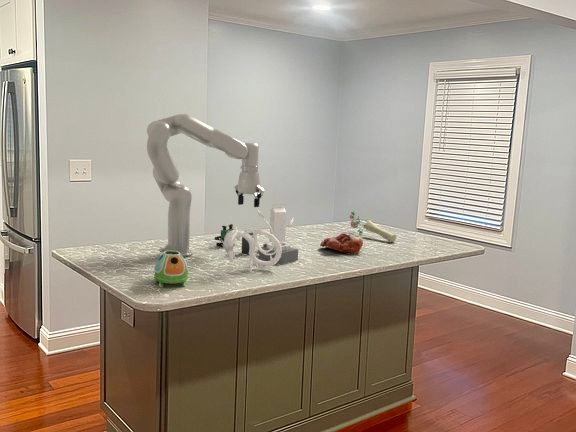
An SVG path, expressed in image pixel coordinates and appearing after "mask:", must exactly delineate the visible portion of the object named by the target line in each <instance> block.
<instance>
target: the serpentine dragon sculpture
mask: <svg viewBox="0 0 576 432" xmlns="http://www.w3.org/2000/svg"><path fill="white" fill-rule="evenodd" d="M256 212H257V213H258V215H259V217H260V219H262V220H265V222H266V224H267V225H268V226H269V229H270V228H271V226H270V222H268V220H267V219H266V218H265V214H264V213H263V212H262V211H260V210H259V209H258V208H256ZM294 218H295V216H294V217H292V219H290V222H289V223H288V226H287V227H288V228H287V230H286V231H285V236H284V238H283V240H282V242H281V244H282V243H283V241H284V239H285V240H286V236H287V234H288V233H289V229H290V228H292V226H293V223H294ZM244 231H245V230H244V229H242V228H241V230H240V229H239V230H238V227H237V225H235V227H234V230H232V231H230V232H229V233H228V232H227V233H228V234H226V236H225V237H226V238H225V237H224V242H223V241H222V242H221V243H223V244H224V246H225V247H224V246H222V247H223V248H224V251H225V252H226V254H225V255H224V256H223V258H224V259H225V258H228V260H229V262H230V263H232V264H233V263H234V259H235V261H237V257H236V254H235V251H234V246H235V242H237V241H241V242H242V237H243V238H245V239H246V240H247V241H248V242H249V247H250V249H249V255H248V256H249V257H250V261H249V273H252V271H253V265H254V264H255V265H256V266H257V269H259V266H260V267H265V268H266V269H267V270H269V268H270V269H271V268H272V266H274V265H275V264H278V263H277V262H278V261H279V259H280V258H281V257H282V256H281V253H282V248H281V244H280V243H279V241H278V240H277V238H276V237H275V236H274V234H273V231H272V228H271V231H272V234H273V235H272V234H270V232H269V231H266V230H263V229H260V228H255V229H254V228H253V229H249V230H246V231H247V232H244ZM248 233H253V238H252V236H251V235H249V234H248ZM258 234H259V235H262V236H265V237H267V238H268V239H271V240H272V241H273V246H272V248H271V249H270V250H268V251H265V250H263V249H261V247H262V246H260V242H259V241H258V240H259V239H258ZM234 239H235V240H234ZM274 244H275V246H276V251H275V252H274V253H272V254H267V253H266V252H269V251H271V250H272V249H273V247H274ZM256 248H257V251H258V252H259V251H260V252H261V253H263V254H265V255H270V259H271V260H270V261H267V260H262V259H259V258H257V257H256V256H258V255H259V254H258V253H256ZM275 253H276V255H275V257H274V258H272V256H271V255H273V254H275ZM259 256H260V255H259ZM268 267H269V268H268Z"/></svg>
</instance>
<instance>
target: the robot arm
mask: <svg viewBox="0 0 576 432" xmlns="http://www.w3.org/2000/svg"><path fill="white" fill-rule="evenodd" d="M146 134H147V137H148V138H147V141H146V152H147V155H148V157H149V159H150V161H151V164H152V166H153V168H152V175H153V178H154V181H155V182H156V184H157V186H158V188H159V190H160V192H161V194H162V195H163V197H164V199H165V200H166V201H167V202H168V204H169V205H168V212H167V244H165V247H161V248H159V249H158V251H159V253H161V254H162V253H163V252H164V251H178V252H180V254H181V255H182V257H183V258H185V257H191V256H193V251H192V250H191V249H190V235H191V234H190V225H191V223H190V222H191V219H190V218H191V217H190V215H191V207H192V206H191V205H192V193H191V191H190V189H189V188H188V187H187V186H186V185H184V184H182V183H181V182H180V180H179V176H180V172H179V169H178V168H177V165H176V164H175V162H174V160H173V158H172V156H171V153H170V152H169V149H168V142H169V140H170V138H171V137H173V136H176V135H180V134H183V135H185V136H186V137H189V138H191V139H192V140H194V141H196V142H198V143H200V144H202V145H204V146H207V147H209V148H213V149H216V150H219V151H221V152H224V154H225V155H226V156H227V157H228V158H231V159H234V160H235V159H236V160H241V165H240V169H241V171H240V172H239V176H238V181H237V184H236V185H234V191H235V193H236V196H237V198H238V199H237V205H239V206H240V205H244V202H245V201H244V200H245V199H244V197H245V196H244V194H245V195H253V197H254V199H253V207H254V208H259V207H260V199H261V198H262V196H263V195H264V192H265V189H264V188H263V187H261V184H260V181H261V180H260V174H259V148H260V147H259V144H258V143H256V142H242V141H240V140H238V139H236V138H234V137H232V136H231V135H229V134H227V133H224V132H222V131H220V130H218V129H216V128H215V127H212V126H211V125H208V124H207V123H205V122H204V121H201V120H199V119H198V118H195V117H194V116H192V115H189V114H186V113H179V114H176V115H172V116H168V117H166V118H165V117H164V118H161V119H157V120H153V121H151V122H150V123H149V124H148V125H147V128H146ZM169 254H170V255H173V254H172V253H169Z"/></svg>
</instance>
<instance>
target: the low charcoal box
mask: <svg viewBox="0 0 576 432" xmlns="http://www.w3.org/2000/svg"><path fill="white" fill-rule="evenodd" d="M279 243H280V244H281V242H279ZM272 246H273V242H265V243H263V245H262V246H260V247H261V249H263V250H265V251H268V250H270V249H271V248H272ZM291 246H292V245H291V243H289V242H286V241H285V242H283V243H282V244H281V248H282V253H281V256H282V257H281V258H280V259H279V261H278V262H277V263H276V264H280V265H284V264H289V263H292V261H293V262H296V261H298V260H299V249H298V248H295V247H291ZM275 251H276V246H275V244H274V247H273V249H272V250H271V251H269V252H266V253H267V254H272V253H274V252H275ZM257 254H259V255H260V256H259V255H257V256H258V258H257V259H258V260H262V261H270V260H271V259H270V255H265V254H263V253H261V252H260V251H259V250H258V253H257ZM275 255H276V253H275V254H273V255H271V256H272V258H274V257H275ZM288 262H289V263H288Z"/></svg>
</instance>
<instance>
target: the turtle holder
mask: <svg viewBox="0 0 576 432" xmlns="http://www.w3.org/2000/svg"><path fill="white" fill-rule="evenodd" d="M169 253H172V254H173V255H170V254H169ZM153 271H154V274H153V277H154V283H158V287H159V288H163V287H164V284H181V285H180V286H181V287H182V286H183V287H182V288H184V287H186V282H185V281H187V280H188V279H189V267H188V263H187V261H186V259H185V257H182V255H181V254H180V252H178V251H164V252H162V253H161V254H160V255H159V256H158V258H157V260H156V263H155V266H154V269H153Z"/></svg>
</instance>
